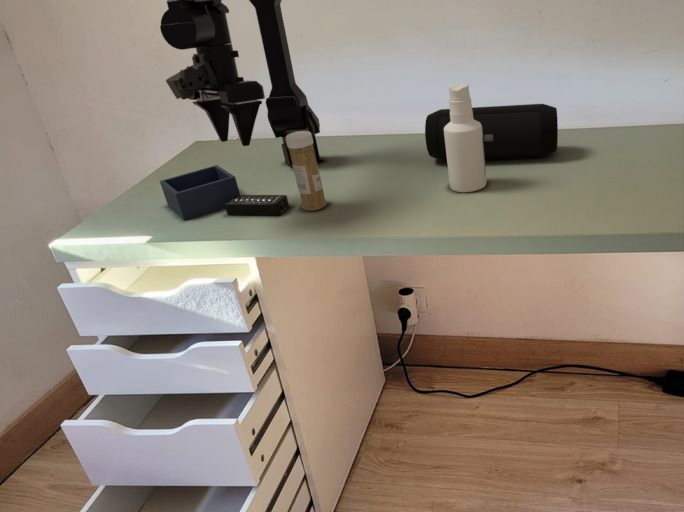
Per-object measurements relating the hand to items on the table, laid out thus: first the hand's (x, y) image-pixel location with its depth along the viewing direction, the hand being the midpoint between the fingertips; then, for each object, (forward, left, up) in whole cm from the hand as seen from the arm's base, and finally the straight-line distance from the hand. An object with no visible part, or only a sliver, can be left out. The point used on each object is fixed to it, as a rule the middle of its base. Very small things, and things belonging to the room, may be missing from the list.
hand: (235, 143), depth 122 cm
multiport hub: (-1, -2, -14) cm, 14 cm away
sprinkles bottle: (-10, +5, -14) cm, 17 cm away
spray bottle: (-35, +19, -14) cm, 42 cm away
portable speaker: (-48, +10, -14) cm, 51 cm away
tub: (+5, -14, -13) cm, 20 cm away
